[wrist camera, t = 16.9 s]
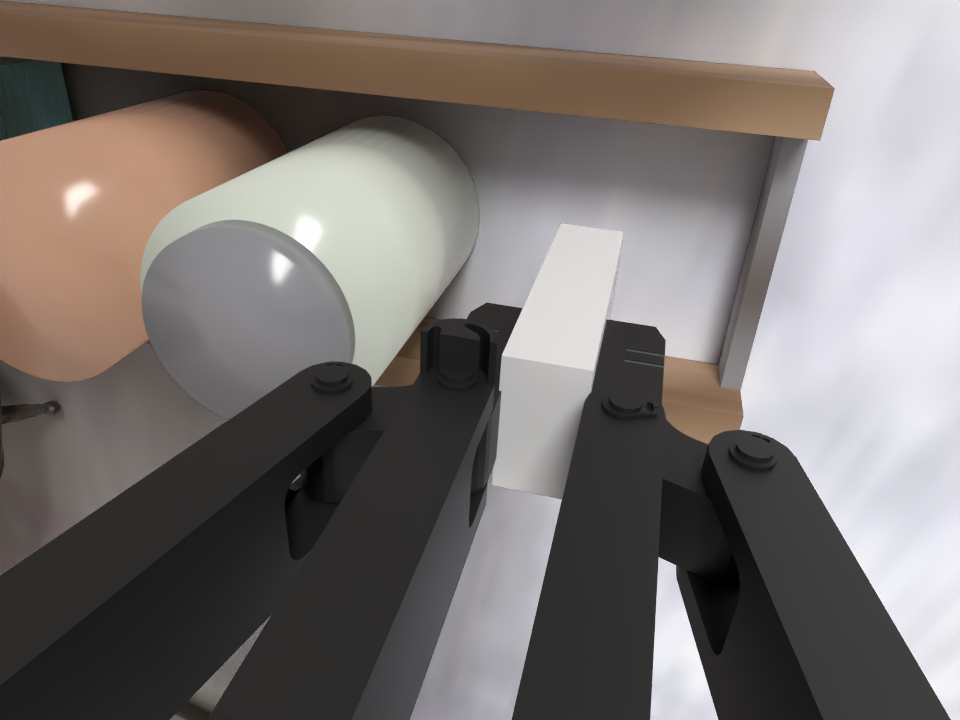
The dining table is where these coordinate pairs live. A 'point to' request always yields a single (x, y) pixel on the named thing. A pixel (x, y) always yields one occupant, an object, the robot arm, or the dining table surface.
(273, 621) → the robot arm
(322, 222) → the jar
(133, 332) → the jar in lane
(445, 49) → the lane
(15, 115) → the pusher
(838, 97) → the dining table surface
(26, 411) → the alarm clock
